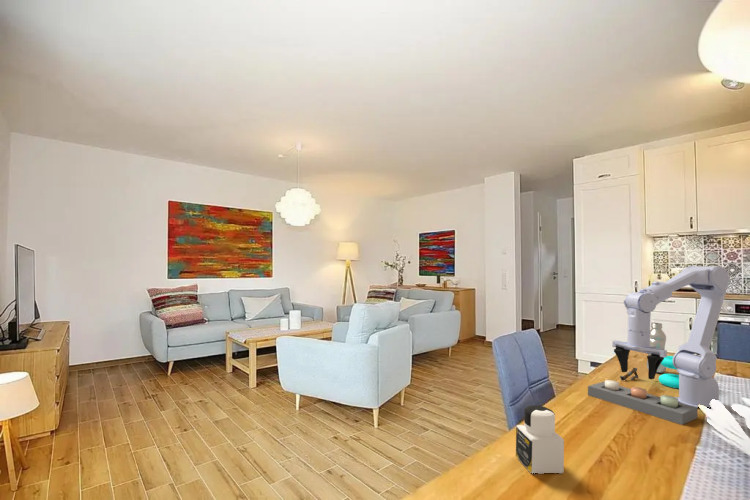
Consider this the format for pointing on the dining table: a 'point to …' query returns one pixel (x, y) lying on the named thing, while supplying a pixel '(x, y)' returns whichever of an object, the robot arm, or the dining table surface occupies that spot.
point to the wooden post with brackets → (630, 374)
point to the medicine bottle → (539, 442)
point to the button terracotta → (639, 393)
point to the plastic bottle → (657, 342)
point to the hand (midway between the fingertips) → (637, 375)
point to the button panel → (644, 404)
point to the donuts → (669, 379)
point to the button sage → (669, 401)
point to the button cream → (612, 385)
